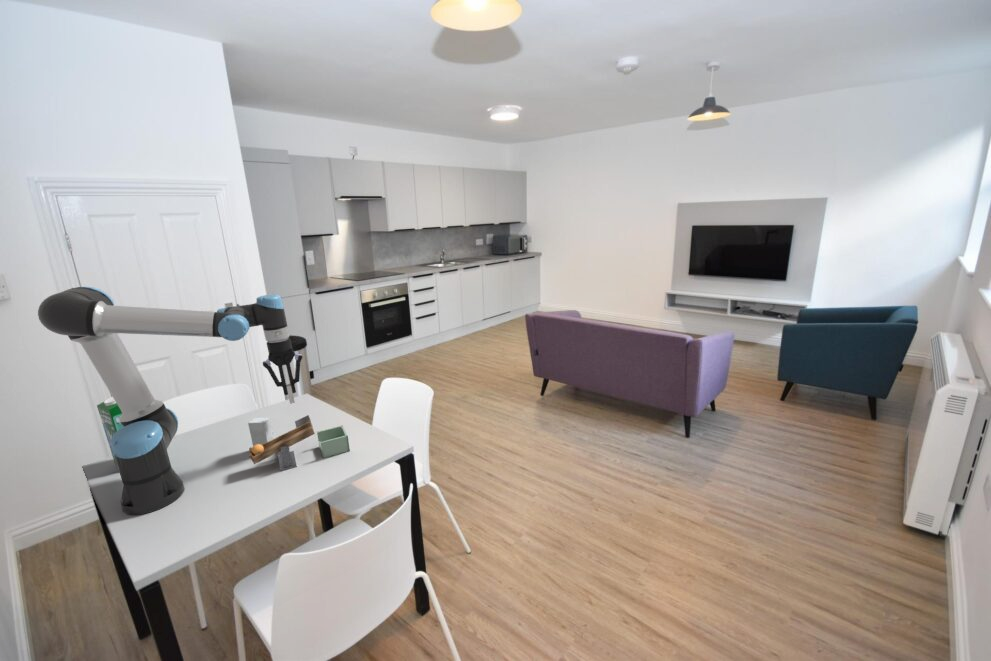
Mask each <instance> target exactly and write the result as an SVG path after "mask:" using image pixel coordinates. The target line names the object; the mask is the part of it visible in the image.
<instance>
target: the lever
mask: <svg viewBox="0 0 991 661" xmlns="http://www.w3.org/2000/svg"><path fill="white" fill-rule="evenodd" d="M294 423H295V428H293V429H291V430H289V431H287V432H285V433H283V434H281V435H278V436H277V437H274V439H273V440H271V441H269V442H267V443H265V444H263V445H262V446H263V447H264V451H263V452H261V453H259V454H257V455H254V454H252V451H251V450H252V446H251V447H249V449H248V454H249V455H248V457H249V458H250V460H251V461H252V463H253V465H256V464H258V463H259V462H262V461H264V460H266V459H268V458H270V457H272V456H273V455H275V454H278V453H280V452H281V446H285V445H288V446H289V448H290V447H291V446H293V445H295V444H297V443H298V444H299V442H301V441H304V440H305V439H308V438H310V437H311V436H313V435H315V434H316V433H315V430H314V428H313V424H312V421H311V418H310V415H309V414H307V415H305V416H303V417H301V418H299V419H297V420H294Z"/></svg>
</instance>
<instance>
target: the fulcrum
mask: <svg viewBox="0 0 991 661" xmlns="http://www.w3.org/2000/svg"><path fill="white" fill-rule="evenodd" d="M280 452H281V454H278V455H277V456H278V457H277V458H278V465H279V470H280V472H283V471H287V470H291V469H294V468H297V461H296V456H295V452H294V450H292V451H290V447H289V446H288V445H285V446H281V451H280Z"/></svg>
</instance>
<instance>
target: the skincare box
mask: <svg viewBox="0 0 991 661" xmlns="http://www.w3.org/2000/svg"><path fill="white" fill-rule="evenodd" d="M247 425H248V429H249V434H250V438H251V444H252V447H253V446H254V445H256V444H260V445H263V444H265V443H267V442H269V441H271V440H273V439H275V435H274V431H273V425H272V420H271V418H270V417H254V418H253V419H251V420H250V421H248V423H247Z"/></svg>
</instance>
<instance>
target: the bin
mask: <svg viewBox="0 0 991 661" xmlns="http://www.w3.org/2000/svg"><path fill="white" fill-rule="evenodd" d="M316 435H317V439H318V440H317V441H318V445H319V450H320V453H321V456H322V458H323V459H326V458H331V457H333V456H336V455H341V454H344V453H346V452H351V450H350V444H349V436H348V433H347V431H346V429H345V427H344V425H343V424H342V425H338V426H335V427H334V426H333V427H330V428H326V429H323V430H319V431H316Z"/></svg>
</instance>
